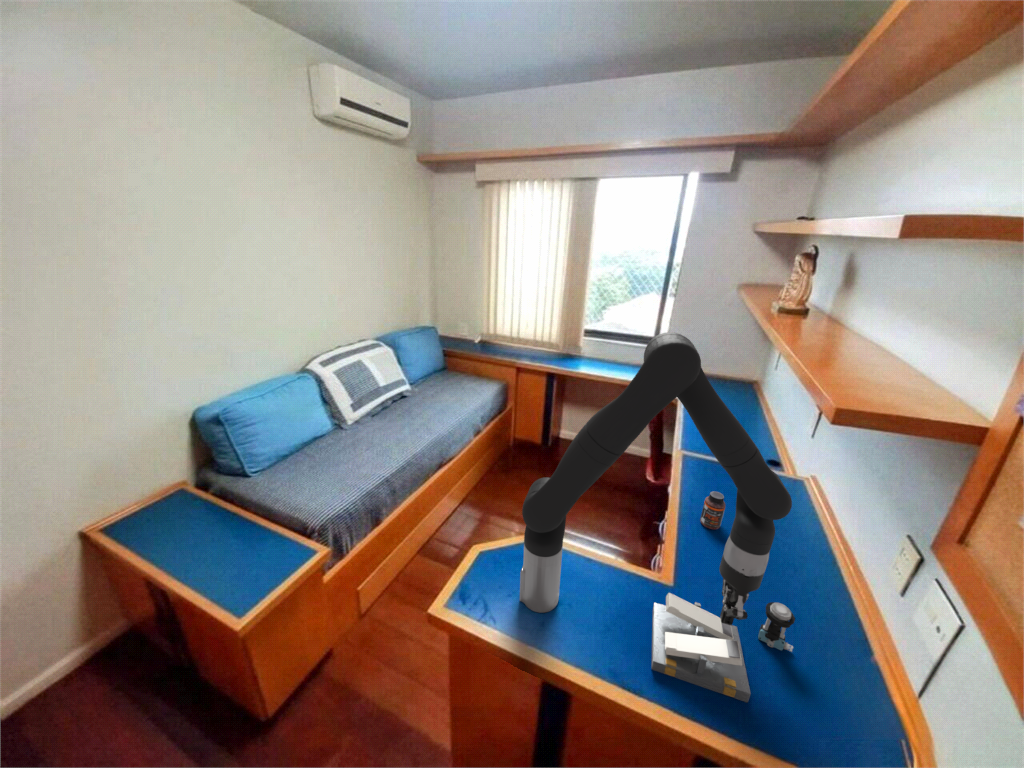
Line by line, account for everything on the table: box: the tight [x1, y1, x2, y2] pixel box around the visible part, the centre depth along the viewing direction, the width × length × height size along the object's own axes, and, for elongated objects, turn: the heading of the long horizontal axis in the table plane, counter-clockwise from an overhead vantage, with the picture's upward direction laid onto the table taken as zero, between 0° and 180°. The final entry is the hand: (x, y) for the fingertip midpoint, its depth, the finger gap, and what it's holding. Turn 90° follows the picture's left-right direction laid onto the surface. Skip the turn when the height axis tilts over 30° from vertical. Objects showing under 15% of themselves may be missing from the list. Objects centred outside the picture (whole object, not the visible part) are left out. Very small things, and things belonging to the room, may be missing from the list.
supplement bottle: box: [699, 491, 726, 530], centre depth 122 cm, size 6×6×11 cm
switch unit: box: [651, 601, 752, 703], centre depth 84 cm, size 18×15×7 cm
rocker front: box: [665, 632, 742, 666], centre depth 80 cm, size 14×4×2 cm, turn 69°
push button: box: [757, 601, 796, 653], centre depth 85 cm, size 7×5×10 cm
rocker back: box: [665, 592, 733, 640], centre depth 86 cm, size 14×4×2 cm, turn 71°
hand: (725, 621), depth 84 cm, fingers closed
